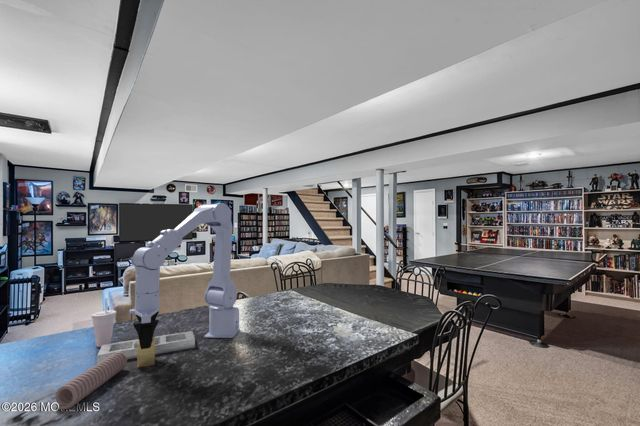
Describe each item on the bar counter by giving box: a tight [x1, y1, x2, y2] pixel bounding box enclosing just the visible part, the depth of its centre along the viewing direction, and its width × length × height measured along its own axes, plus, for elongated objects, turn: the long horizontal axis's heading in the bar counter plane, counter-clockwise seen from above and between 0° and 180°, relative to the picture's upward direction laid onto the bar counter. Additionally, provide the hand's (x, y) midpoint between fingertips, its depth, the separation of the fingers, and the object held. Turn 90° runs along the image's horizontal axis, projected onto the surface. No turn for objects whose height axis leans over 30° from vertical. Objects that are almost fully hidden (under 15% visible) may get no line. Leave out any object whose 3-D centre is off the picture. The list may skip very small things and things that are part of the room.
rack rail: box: [96, 330, 196, 364], centre depth 90 cm, size 24×8×2 cm, turn 118°
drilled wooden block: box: [134, 336, 158, 368], centre depth 82 cm, size 6×4×6 cm
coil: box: [54, 352, 128, 411], centre depth 70 cm, size 5×5×18 cm
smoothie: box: [90, 297, 117, 348], centre depth 95 cm, size 6×6×14 cm
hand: (146, 343), depth 82 cm, fingers open, 7 cm apart
